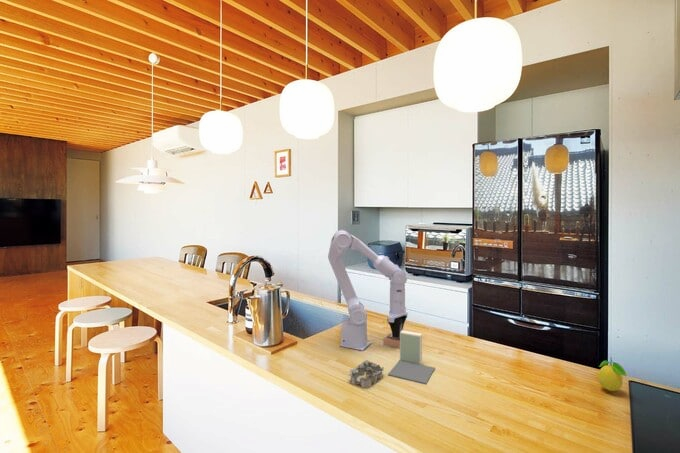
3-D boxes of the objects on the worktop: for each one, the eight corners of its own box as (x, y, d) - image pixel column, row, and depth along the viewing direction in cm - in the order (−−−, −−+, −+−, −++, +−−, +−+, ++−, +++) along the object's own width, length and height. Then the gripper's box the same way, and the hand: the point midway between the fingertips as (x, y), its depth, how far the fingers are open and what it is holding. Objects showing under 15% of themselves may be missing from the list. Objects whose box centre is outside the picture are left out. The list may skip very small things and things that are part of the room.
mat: (387, 375, 111) (387, 374, 111) (399, 361, 120) (399, 360, 120) (426, 384, 105) (426, 383, 105) (434, 368, 115) (434, 367, 115)
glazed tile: (399, 361, 121) (399, 332, 120) (401, 358, 123) (401, 330, 122) (419, 365, 117) (420, 336, 116) (421, 362, 119) (422, 333, 118)
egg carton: (366, 391, 102) (366, 377, 102) (346, 382, 107) (346, 369, 107) (386, 376, 110) (386, 363, 110) (366, 369, 115) (366, 357, 115)
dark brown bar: (403, 346, 132) (403, 320, 131) (388, 344, 135) (388, 318, 134) (406, 344, 135) (406, 318, 134) (391, 341, 138) (391, 316, 137)
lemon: (625, 400, 96) (627, 364, 95) (598, 394, 99) (600, 359, 98) (621, 389, 101) (623, 355, 101) (596, 383, 104) (598, 350, 104)
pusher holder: (406, 349, 130) (406, 342, 130) (383, 344, 134) (383, 338, 134) (411, 343, 135) (411, 336, 135) (388, 339, 140) (388, 332, 139)
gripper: (401, 306, 125) (401, 344, 126) (413, 296, 138) (413, 330, 139) (382, 304, 129) (382, 340, 130) (396, 294, 141) (396, 327, 142)
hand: (397, 335), depth 135 cm, fingers closed on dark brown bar, 3 cm apart
